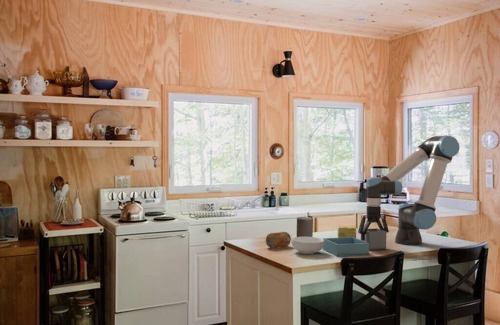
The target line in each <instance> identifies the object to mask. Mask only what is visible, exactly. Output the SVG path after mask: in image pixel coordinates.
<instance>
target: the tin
mask: <svg viewBox="0 0 500 325" xmlns="http://www.w3.org/2000/svg"><path fill="white" fill-rule="evenodd" d="M291 242H292V237H291V234H289V233H288V232H286V231H279V232H270V233H268V234H267V235H266V237H265V244H266V246H267V247H269V248H270V249H279V248H281V249H282V248H285V247H288V246H289V245H290V244H291Z"/></svg>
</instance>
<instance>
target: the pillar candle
mask: <svg viewBox="0 0 500 325" xmlns="http://www.w3.org/2000/svg"><path fill="white" fill-rule="evenodd" d="M313 226H314V217H313V218H312V217H309V216H305V215H304V216H300V217H299V216H298V217H296V237H314V236H313V233H314V232H313V230H314V227H313Z"/></svg>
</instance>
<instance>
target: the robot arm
mask: <svg viewBox="0 0 500 325" xmlns="http://www.w3.org/2000/svg"><path fill="white" fill-rule="evenodd" d="M459 151H460V143H459V142H458V140H457V138H456V137H454V136H452V135H434V136H431V137H429V138H427V139H426V140H424V141H423V142H422V143H420V144H419V145H418V146H416V148H415V150H414V151H413V152H412V153H411V154H409V155H408V156H407V157H405V158H404V159H403V160H402V161H401V162H399V163H397V165H396V166H394V167H393V168H392V169H390V170H389V171H387V172H386V173H385V174H383V176H381V177H377V176H376V177H375V176H374V177H367V179H366V215H363V214H362V215H361V216H360V218H361V220H360V223H359V228H358V231H357V232H358V234H360V240H361V239H362V240H363V241H364V242H366V235H365V233H366V231H367V229H370V225H371V224H374V223H375V224H376V225H377V226H378V229H380V230H384V231H386V234H388V233H389V232H390V231H389V227H388V223H387V220H386V218H387V216H386V215H385V214H381V211H382V209H381V208H382V207H381V205H382V203H381V202H382V199H381V198H382V196H383V195H385V196H386V195H400V194H402V193H403V184H402V182H401V181H400V180H401V179H402V178H404V177H406V175H407V174H410V173H411V171H413V170H415V169H416V168H418V166H420V164H422V163H423V162H424V161H426V162H427V161H428V160H430V159H431V160H430V163H429V166H428V169H427V173H426V176H425V179H424V182H423V186H422V188H421V190H420V195H419V197H418V200H417V199H416V200H415V201H414V203H400V204H399V205H398V209H397V210H398V219H397V220H398V223H397V224H398V225H397V226H398V229H397V232H396V234H395V238H394V242H395V243H397V244H399V245H407V246H410V245H411V246H417V245H418V246H419V245H422V244H423V238H422V234H421V232H420V230H429V229H431V228H433V227H434V226H435V224H436V223H437V215H436V211H437V210H436V209H437V208H436V206H435V203H436V199H437V197H438V194H439V190H440V187H441V184H442V182H443V178H444V176H445V172H446V169H447V166H448V164H450V163H451V162H452V160H453V157H455V156H457V154H458V153H459ZM380 219H381V220H380Z"/></svg>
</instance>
